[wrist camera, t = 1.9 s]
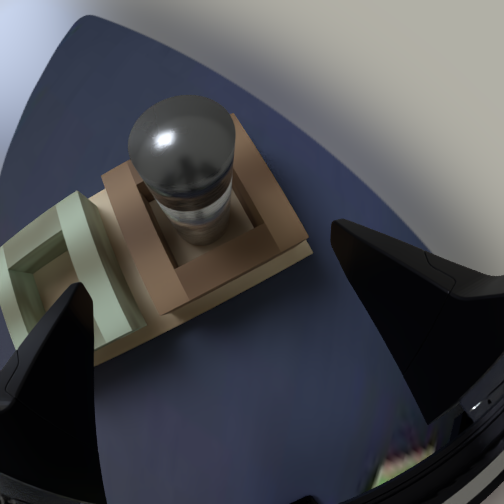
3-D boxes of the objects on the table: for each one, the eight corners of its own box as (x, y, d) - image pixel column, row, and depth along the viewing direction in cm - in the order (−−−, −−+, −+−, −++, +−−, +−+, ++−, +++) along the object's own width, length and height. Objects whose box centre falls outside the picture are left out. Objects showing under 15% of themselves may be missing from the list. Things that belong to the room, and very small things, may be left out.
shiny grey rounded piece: (239, 229, 20) (255, 154, 10) (188, 255, 20) (149, 205, 9) (214, 183, 21) (208, 82, 10) (165, 207, 20) (116, 122, 9)
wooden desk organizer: (309, 255, 22) (330, 244, 17) (57, 383, 18) (28, 396, 13) (236, 131, 23) (239, 99, 18) (11, 259, 19) (-19, 252, 14)
